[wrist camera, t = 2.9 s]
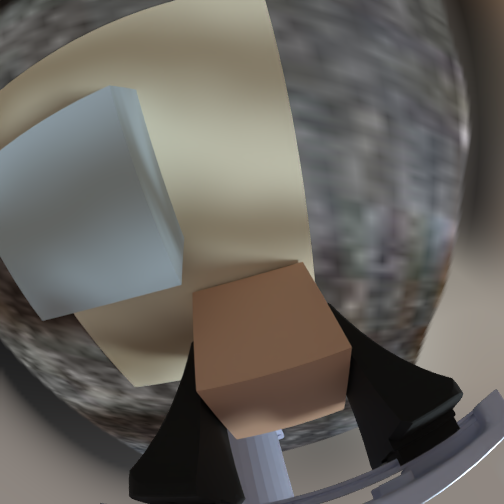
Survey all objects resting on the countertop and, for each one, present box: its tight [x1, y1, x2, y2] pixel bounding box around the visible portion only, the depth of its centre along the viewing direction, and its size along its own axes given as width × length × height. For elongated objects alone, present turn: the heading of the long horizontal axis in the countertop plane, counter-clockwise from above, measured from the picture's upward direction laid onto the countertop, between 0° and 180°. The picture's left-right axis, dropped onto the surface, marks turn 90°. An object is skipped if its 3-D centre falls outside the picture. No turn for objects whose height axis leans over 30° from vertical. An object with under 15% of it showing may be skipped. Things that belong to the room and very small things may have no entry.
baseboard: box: [0, 0, 315, 387], centre depth 10 cm, size 18×12×4 cm, turn 12°
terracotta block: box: [192, 262, 352, 439], centre depth 11 cm, size 5×5×5 cm
